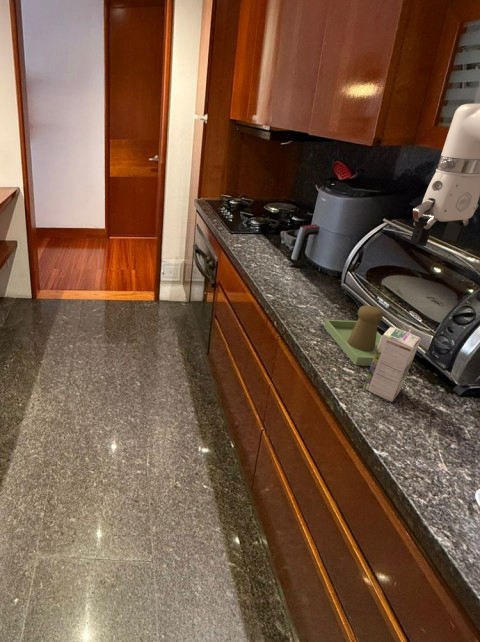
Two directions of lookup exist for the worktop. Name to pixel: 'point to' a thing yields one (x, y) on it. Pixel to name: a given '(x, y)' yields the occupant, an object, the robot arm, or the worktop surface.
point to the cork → (366, 328)
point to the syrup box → (391, 363)
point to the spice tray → (341, 335)
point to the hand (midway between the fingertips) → (434, 242)
